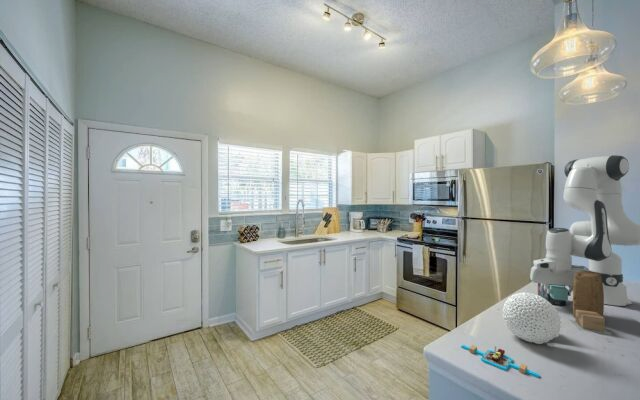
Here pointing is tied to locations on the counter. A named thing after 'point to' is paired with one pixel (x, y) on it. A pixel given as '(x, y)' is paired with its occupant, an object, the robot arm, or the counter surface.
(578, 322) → the walnut base block
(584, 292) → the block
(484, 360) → the gear mechanism
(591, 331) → the square tile
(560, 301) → the small box
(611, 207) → the robot arm
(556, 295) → the teal cube
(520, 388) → the counter surface
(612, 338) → the counter surface
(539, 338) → the white coral
